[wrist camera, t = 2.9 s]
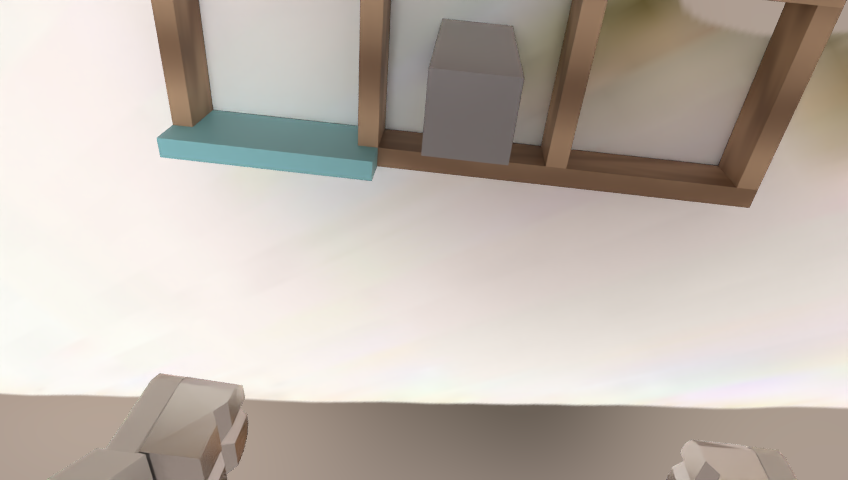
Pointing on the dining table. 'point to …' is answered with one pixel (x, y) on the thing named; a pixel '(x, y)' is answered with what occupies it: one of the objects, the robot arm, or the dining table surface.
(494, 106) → the tall grey block
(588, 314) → the dining table surface
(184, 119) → the rack
